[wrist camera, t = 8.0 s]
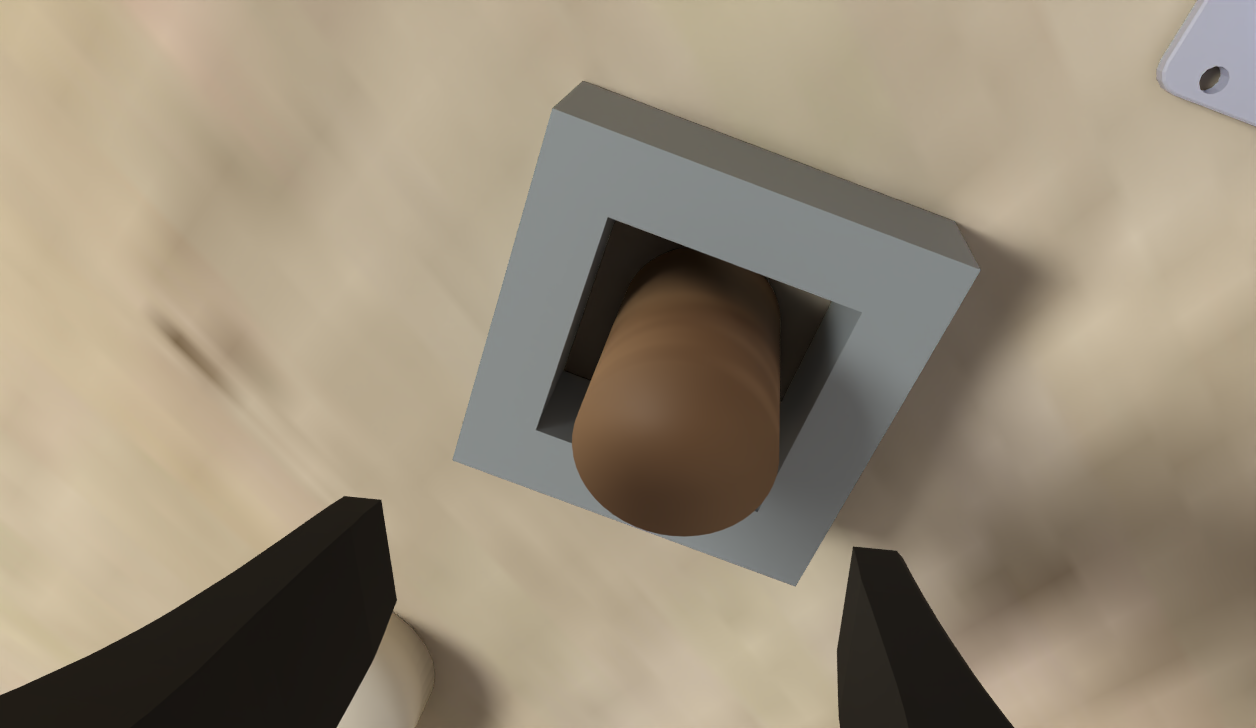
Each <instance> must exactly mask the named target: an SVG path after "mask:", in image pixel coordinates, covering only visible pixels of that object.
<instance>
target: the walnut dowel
mask: <svg viewBox="0 0 1256 728" xmlns="http://www.w3.org/2000/svg"><path fill="white" fill-rule="evenodd" d="M780 321H781V317H780V309H779V305H778V301H777V298H776V296H775V293H774V291H773V289H772V287H771V286H770V284H769V282H768V281H767V279H766V278H765V277H764V276H763V275H761V274H758V273H756V272H753V271H750V270H748V269H745V268H742V267H740V266H737V265H734V264H732V263H729V262H726V261H724V260H721V259H718V258H716V257H713V256H710V255H708V254H705V253H702V252H700V251H697V250H694V249H692V248H689V247H684V248H679V249H675V250H672V251H669V252H667V253H664V254H662V255H660V256H658V257H656V258H655V259H653V260H652V261H650V262H649V263H648V264H646V265H645V266H644V267H643V268H642V269H641V270H640V271H639V272H638V273H637V274H636V276H635V277H634V278H633V280H632V281H631V283H630V285H629V287H628V289H627V291H626V294H625V296H624V299H623V301H622V304H621V306H620V309H619V311H618V314H617V316H616V319H615V321H614V324H613V326H612V329H611V331H610V334H609V336H608V339H607V341H606V344H605V346H604V349H603V352H602V354H601V357H600V359H599V362H598V364H597V367H596V369H595V372H594V374H593V377H592V379H591V382H590V384H589V387H588V389H587V392H586V394H585V397H584V399H583V402H582V404H581V407H580V409H579V412H578V415H577V417H576V420H575V423H574V428H573V433H572V450H573V457H574V461H575V465H576V468H577V470H578V473H579V475H580V478H581V479H582V481H583V483H584V484H585V486H586V488H587V489H588V490H589V492H590V493H591V494H592V496H593V497H594V498H595V499H596V500H597V501H598V502H599V503H600V504H601V505H602V506H603V507H604V508H605V509H607V510H608V511H609V512H610V513H612V514H613V515H615V516H616V517H618V518H619V519H621V520H623V521H624V522H626V523H628V524H631V525H633V526H635V527H637V528H640V529H643V530H645V531H649V532H653V533H657V534H662V535H668V536H683V537H686V536H699V535H705V534H711V533H714V532H718V531H721V530H724V529H726V528H728V527H731V526H733V525H735V524H737V523H738V522H740V521H742V520H744V519H745V518H746V517H748V516H749V515H750V514H752V513H753V512H754V511H755V510H756V509H757V508H758V507H759V506H760V505H761V504H762V502H763V501H764V500H765V498H766V497H767V496H768V494H769V492H770V490H771V488H772V487H773V485H774V482H775V479H776V476H777V472H778V466H779V430H780Z"/></svg>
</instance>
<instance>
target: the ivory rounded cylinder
mask: <svg viewBox="0 0 1256 728" xmlns="http://www.w3.org/2000/svg"><path fill="white" fill-rule="evenodd" d="M434 681H435V671H434V665H433V662H432V659H431V656H430V653H429V651H428V649H427V647H426V646H425V644H424V643H423V641H422V640H421V638H420V637H419V636H418V635H417V633H416V632H415V631H414V630H413V629H412V628H411V627H410V626H409V625H408V624H407V623H406V622H405V621H403V620H402V619H401V618H400V617H398V616H397V615H396V614H394V613H393V612H392V615H391V617H390V620H389V623H388V625H387V628H386V631H385V633H384V636H383V638H382V641H381V643H380V646H379V648H378V650H377V653H376V655H375V658H374V660H373V662H372V664H371V666H370V668H369V669H368V671H367V673H366V675H365V677H364V679H363V681H362V682H361V684H360V686H359V688H358V690H357V692H356V694H355V695H354V697H353V699H352V701H351V703H350V705H349V706H348V708H347V710H346V712H345V714H344V715H343V717H342V719H341V721H340V723H339V724H338V726H337V728H415V727H416V725H417V723H418V721H419V719H420V716H421V714H422V712H423V710H424V708H425V706H426V703H427V701H428V699H429V697H430V695H431V692H432V690H433V686H434Z"/></svg>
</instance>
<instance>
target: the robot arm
mask: <svg viewBox="0 0 1256 728" xmlns="http://www.w3.org/2000/svg"><path fill="white" fill-rule="evenodd" d="M1215 66H1218V67H1219V68H1220V73H1221V75H1220V78H1219V81H1218V82H1217V83H1216V84H1215V85H1214V86H1213V87H1212V88H1209V89H1207V90H1201V89H1200V85H1199V81H1200V79H1201V76H1202V75H1203V74H1204V73H1205V72H1206V70H1207V69H1210V68H1212V67H1215ZM1157 81H1158V83H1159V85H1160V87H1161V88H1163V89H1164V90H1166V91H1167V92H1169V93H1171V94H1173V95H1175V96H1177V97H1180V98H1183V99H1185V100H1188V101H1190V102H1193V103H1196V104H1198V105H1201V106H1204V107H1206V108H1209V109H1211V110H1214V111H1217V112H1219V113H1222V114H1224V115H1227V116H1230V117H1232V118H1235V119H1237V120H1240V121H1243V122H1245V123H1248V124H1251V125H1253V126H1256V0H1197V1H1196V3H1195V5H1194V6H1193V8H1192V9H1191V11H1190V13H1189V14H1188V16H1187V17H1186V19H1185V21H1184V22H1183V24H1182V26H1181V27H1180V29H1179V30H1178V32H1177V34H1176V35H1175V37H1174V39H1173V40H1172V42H1171V43H1170V45H1169V47H1168V48H1167V50H1166V52H1165V53H1164V55H1163V56H1162V58H1161V60H1160V62H1159V65H1158V67H1157ZM396 601H397V598H396V592H395V585H394V579H393V572H392V566H391V560H390V553H389V547H388V540H387V534H386V527H385V521H384V515H383V508H382V502H381V500H377V499H367V498H357V497H347V496H344V497H343V498H341V499H339V500H338V501H336V502H335V503H333V504H331V505H330V506H328V507H327V508H325V509H324V510H323V511H321V512H320V513H318V514H317V515H315V516H314V517H312V518H311V519H310V520H308V521H307V522H305V523H304V524H302V525H301V526H300V527H298V528H297V529H295V530H294V531H292V532H291V533H290V534H288V535H287V536H285V537H284V538H282V539H281V540H280V541H278V542H277V543H275V544H274V545H272V546H271V547H269V548H268V549H266V550H265V551H264V552H262V553H261V554H259V555H258V556H256V557H255V558H253V559H252V560H250V561H249V562H247V563H246V564H245V565H243V566H242V567H240V568H239V569H237V570H236V571H234V572H233V573H231V574H230V575H228V576H226V577H225V578H223V579H222V580H220V581H218V582H217V583H215V584H214V585H212V586H211V587H209V588H207V589H206V590H204V591H203V592H201V593H199V594H198V595H196V596H195V597H193V598H191V599H190V600H188V601H187V602H185V603H183V604H182V605H180V606H179V607H177V608H176V609H174V610H172V611H171V612H169V613H167V614H165V615H164V616H162V617H160V618H159V619H157V620H155V621H153V622H151V623H150V624H148V625H146V626H144V627H143V628H141V629H139V630H137V631H135V632H133V633H131V634H130V635H128V636H126V637H124V638H122V639H120V640H118V641H116V642H114V643H112V644H111V645H109V646H107V647H105V648H103V649H101V650H99V651H97V652H95V653H93V654H91V655H89V656H87V657H85V658H82V659H80V660H78V661H76V662H74V663H72V664H69V665H67V666H65V667H63V668H61V669H58V670H56V671H54V672H52V673H50V674H48V675H45V676H43V677H41V678H39V679H37V680H34V681H32V682H30V683H28V684H26V685H24V686H21V687H19V688H17V689H14V690H12V691H10V692H7V693H5V694H2V695H0V728H337V726H338V724H339V723H340V721H341V719H342V717H343V715H344V714H345V712H346V710H347V708H348V706H349V705H350V703H351V701H352V699H353V697H354V695H355V694H356V692H357V690H358V688H359V686H360V684H361V682H362V681H363V679H364V677H365V675H366V673H367V671H368V669H369V668H370V666H371V664H372V662H373V660H374V658H375V655H376V653H377V650H378V648H379V646H380V643H381V641H382V638H383V636H384V633H385V631H386V628H387V625H388V623H389V620H390V617H391V615H392V612H393V609H394V606H395V604H396ZM837 672H838V707H839V722H840V728H1014V727H1013V726H1012V724H1011V723H1010V722H1009V721H1008V719H1007V718H1006V717H1005V715H1004V714H1003V713H1002V711H1001V710H1000V709H999V707H998V706H997V705H996V704H995V702H994V701H993V700H992V698H991V697H990V696H989V694H988V693H987V692H986V690H985V689H984V688H983V686H982V685H981V683H980V682H979V681H978V679H977V678H976V676H975V675H974V674H973V672H972V671H971V669H970V668H969V666H968V665H967V663H966V662H965V660H964V659H963V657H962V656H961V654H960V653H959V651H958V650H957V649H956V647H955V646H954V644H953V643H952V641H951V640H950V638H949V637H948V635H947V633H946V632H945V630H944V629H943V627H942V626H941V624H940V622H939V621H938V619H937V618H936V616H935V614H934V613H933V611H932V609H931V608H930V606H929V604H928V603H927V601H926V599H925V598H924V596H923V594H922V592H921V591H920V589H919V587H918V585H917V584H916V582H915V580H914V578H913V576H912V574H911V573H910V571H909V569H908V567H907V565H906V563H905V561H904V559H903V558H902V557H901V555H900V554H899V553H898V552H897V551H893V550H882V549H872V548H862V547H853V551H852V558H851V564H850V571H849V577H848V583H847V590H846V596H845V603H844V609H843V615H842V622H841V628H840V635H839V641H838V648H837Z"/></svg>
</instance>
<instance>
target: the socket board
mask: <svg viewBox="0 0 1256 728" xmlns="http://www.w3.org/2000/svg"><path fill="white" fill-rule="evenodd" d="M615 220H617V221H620V222H622V223H625V224H628V225H630V226H633V227H636V228H638V229H641V230H644V231H646V232H649V233H652V234H654V235H657V236H660V237H662V238H665V239H668V240H670V241H673V242H676V243H678V244H681V245H684V246H686V247H689V248H692V249H694V250H697V251H700V252H702V253H705V254H708V255H710V256H713V257H716V258H718V259H721V260H724V261H726V262H729V263H732V264H734V265H737V266H740V267H742V268H745V269H748V270H750V271H753V272H756V273H758V274H761V275H763V276H766V277H769V278H771V279H774V280H777V281H779V282H782V283H785V284H787V285H790V286H793V287H795V288H798V289H801V290H803V291H806V292H809V293H811V294H814V295H817V296H819V297H822V298H825V299H827V300H830V301H832V302H831V304H830V306H829V308H828V310H827V312H826V314H825V316H824V318H823V320H822V322H821V324H820V326H819V328H818V330H817V332H816V334H815V336H814V338H813V340H812V342H811V344H810V346H809V348H808V350H807V352H806V354H805V356H804V358H803V360H802V362H801V364H800V366H799V368H798V370H797V372H796V374H795V376H794V378H793V380H792V382H791V384H790V386H789V388H788V390H787V392H786V394H785V396H784V398H783V400H782V402H781V404H780V430H779V466H778V472H777V476H776V479H775V482H774V485H773V487H772V488H771V490H770V492H769V494H768V496H767V497H766V498H765V500H764V501H763V502H762V504H761V505H760V506H759V507H758V508H757V509H756V510H755V511H754V512H753V513H752V514H750V515H749V516H748V517H746V518H745V519H744V520H742V521H740V522H738V523H737V524H735V525H733V526H731V527H728V528H726V529H724V530H721V531H718V532H714V533H711V534H705V535H699V536H686V537H683V536H668V535H662V534H657V533H653V532H649V531H646V532H649V533H651V534H654V535H657V536H660V537H662V538H665V539H668V540H670V541H673V542H676V543H679V544H681V545H684V546H687V547H689V548H692V549H695V550H698V551H700V552H703V553H706V554H708V555H711V556H714V557H717V558H719V559H722V560H725V561H727V562H730V563H733V564H736V565H738V566H741V567H744V568H746V569H749V570H752V571H755V572H757V573H760V574H763V575H765V576H768V577H771V578H774V579H776V580H779V581H782V582H784V583H787V584H790V585H793V586H795V587H796V585H797V583H798V581H799V580H800V578H801V576H802V575H803V573H804V571H805V570H806V568H807V566H808V564H809V563H810V561H811V559H812V558H813V556H814V554H815V552H816V551H817V549H818V547H819V546H820V544H821V542H822V540H823V539H824V537H825V535H826V534H827V532H828V530H829V529H830V527H831V525H832V523H833V522H834V520H835V518H836V517H837V515H838V513H839V511H840V510H841V508H842V506H843V505H844V503H845V501H846V499H847V498H848V496H849V494H850V493H851V491H852V489H853V487H854V486H855V484H856V482H857V481H858V479H859V477H860V476H861V474H862V472H863V470H864V469H865V467H866V465H867V464H868V462H869V460H870V458H871V457H872V455H873V453H874V452H875V450H876V448H877V446H878V445H879V443H880V441H881V440H882V438H883V436H884V434H885V433H886V431H887V429H888V428H889V426H890V424H891V423H892V421H893V419H894V417H895V416H896V414H897V412H898V411H899V409H900V407H901V405H902V404H903V402H904V400H905V399H906V397H907V395H908V393H909V392H910V390H911V388H912V387H913V385H914V383H915V381H916V380H917V378H918V376H919V375H920V373H921V371H922V370H923V368H924V366H925V364H926V363H927V361H928V359H929V358H930V356H931V354H932V352H933V351H934V349H935V347H936V346H937V344H938V342H939V340H940V339H941V337H942V335H943V334H944V332H945V330H946V328H947V327H948V325H949V323H950V322H951V320H952V318H953V317H954V315H955V313H956V311H957V310H958V308H959V306H960V305H961V303H962V301H963V299H964V298H965V296H966V294H967V293H968V291H969V289H970V287H971V286H972V284H973V282H974V281H975V279H976V277H977V276H978V274H979V272H980V270H981V269H980V268H979V266H978V264H977V262H976V260H975V258H974V256H973V255H972V253H971V251H970V249H969V247H968V245H967V243H966V242H965V240H964V238H963V236H962V234H961V232H960V230H959V229H958V227H957V225H956V223H955V221H952V220H950V219H947V218H944V217H942V216H939V215H936V214H934V213H931V212H928V211H926V210H923V209H920V208H918V207H915V206H913V205H910V204H907V203H905V202H902V201H899V200H897V199H894V198H891V197H889V196H886V195H883V194H881V193H878V192H876V191H873V190H870V189H868V188H865V187H862V186H860V185H857V184H854V183H852V182H849V181H846V180H844V179H841V178H838V177H836V176H833V175H831V174H828V173H825V172H823V171H820V170H817V169H815V168H812V167H809V166H807V165H804V164H801V163H799V162H796V161H794V160H791V159H788V158H786V157H783V156H780V155H778V154H775V153H772V152H770V151H767V150H764V149H762V148H759V147H757V146H754V145H751V144H749V143H746V142H743V141H741V140H738V139H735V138H733V137H730V136H727V135H725V134H722V133H720V132H717V131H714V130H712V129H709V128H706V127H704V126H701V125H698V124H696V123H693V122H690V121H688V120H685V119H683V118H680V117H677V116H675V115H672V114H669V113H667V112H664V111H661V110H659V109H656V108H653V107H651V106H648V105H645V104H643V103H640V102H638V101H635V100H632V99H630V98H627V97H624V96H622V95H619V94H616V93H614V92H611V91H608V90H606V89H603V88H601V87H598V86H595V85H593V84H590V83H587V82H585V81H582V82H581V83H580V84H579V85H578V86H577V87H575V88H574V89H573V90H572V91H571V92H570V93H569V94H568V95H567V96H566V97H564V98H563V99H562V100H561V101H560V102H559V103H558V104H557V105H556V106H554V107H553V108H552V112H551V115H550V119H549V122H548V126H547V129H546V133H545V136H544V140H543V143H542V147H541V150H540V154H539V157H538V161H537V164H536V168H535V171H534V175H533V178H532V182H531V186H530V189H529V193H528V196H527V200H526V203H525V207H524V210H523V214H522V217H521V221H520V224H519V228H518V231H517V235H516V238H515V242H514V245H513V249H512V252H511V256H510V259H509V263H508V266H507V270H506V273H505V277H504V280H503V284H502V288H501V291H500V295H499V298H498V302H497V305H496V309H495V312H494V316H493V319H492V323H491V326H490V330H489V333H488V337H487V340H486V344H485V347H484V351H483V354H482V358H481V361H480V365H479V368H478V372H477V375H476V379H475V382H474V386H473V389H472V393H471V397H470V400H469V404H468V407H467V411H466V414H465V418H464V421H463V425H462V428H461V432H460V435H459V439H458V442H457V446H456V449H455V453H454V456H453V461H456V462H459V463H461V464H464V465H467V466H469V467H472V468H475V469H478V470H480V471H483V472H486V473H488V474H491V475H494V476H497V477H499V478H502V479H505V480H507V481H510V482H513V483H516V484H518V485H521V486H524V487H526V488H529V489H532V490H535V491H537V492H540V493H543V494H545V495H548V496H551V497H554V498H556V499H559V500H562V501H564V502H567V503H570V504H573V505H575V506H578V507H581V508H584V509H586V510H589V511H592V512H594V513H597V514H600V515H603V516H605V517H608V518H611V519H613V520H616V521H619V522H622V523H624V524H627V525H630V526H632V527H635V526H633V525H631V524H628V523H626V522H624V521H623V520H621V519H619V518H618V517H616V516H615V515H613V514H612V513H610V512H609V511H608V510H607V509H605V508H604V507H603V506H602V505H601V504H600V503H599V502H598V501H597V500H596V499H595V498H594V497H593V496H592V494H591V493H590V492H589V490H588V489H587V488H586V486H585V484H584V483H583V481H582V479H581V478H580V475H579V473H578V470H577V468H576V465H575V461H574V457H573V450H572V433H573V428H574V423H575V420H576V417H577V415H578V412H579V409H580V407H581V404H582V402H583V399H584V397H585V394H586V392H587V389H588V387H589V384H590V382H591V381H590V380H587V379H584V378H582V377H579V376H576V375H574V374H571V373H568V372H565V371H564V368H565V365H566V362H567V359H568V356H569V353H570V350H571V347H572V344H573V342H574V339H575V336H576V333H577V330H578V327H579V324H580V321H581V318H582V315H583V312H584V309H585V306H586V304H587V301H588V298H589V295H590V292H591V289H592V286H593V283H594V280H595V277H596V274H597V271H598V268H599V266H600V263H601V260H602V257H603V254H604V251H605V248H606V245H607V242H608V239H609V236H610V233H611V231H612V228H613V225H614V222H615ZM635 528H637V527H635ZM638 529H640V528H638ZM641 530H643V529H641ZM643 531H645V530H643Z"/></svg>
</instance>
